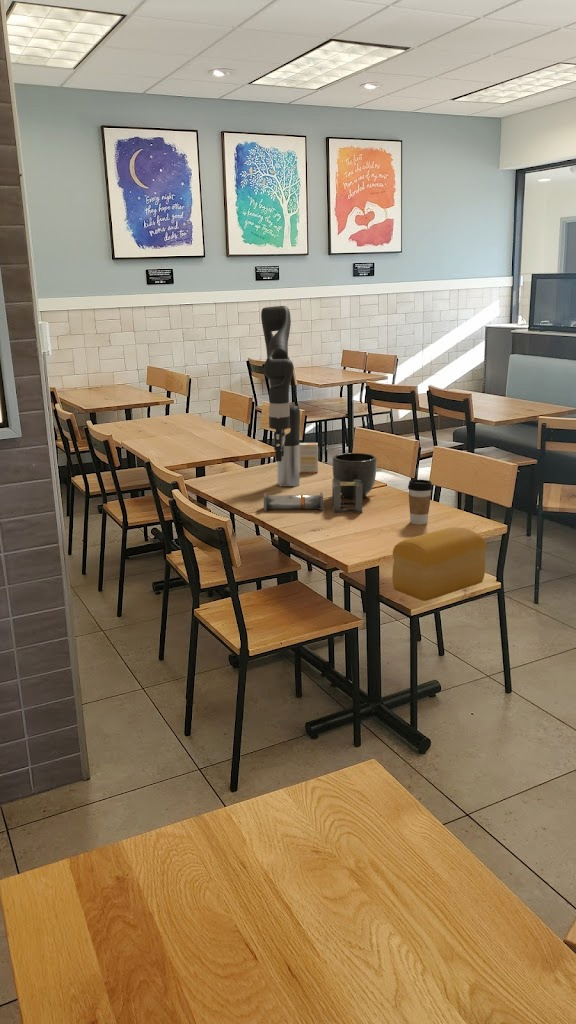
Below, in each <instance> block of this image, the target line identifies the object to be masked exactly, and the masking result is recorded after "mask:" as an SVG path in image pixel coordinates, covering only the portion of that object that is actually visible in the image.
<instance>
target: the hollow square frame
mask: <svg viewBox="0 0 576 1024" xmlns="http://www.w3.org/2000/svg"><path fill="white" fill-rule="evenodd" d="M331 483H332V484H331V486H332V489H331V494H332V495H331V499H332V500H331V503H332V505H331V506H332V507H333V514H363V498H362V497H363V486H362V483H361V480H360V479H354V482H339V479H333V478H332V482H331ZM341 486H353V499H352V501H351V502H349V501H348V502H346V501H344V502H341V498H342V497H341V495H342V494H341ZM341 507H355V508H345V509H344V508H341Z"/></svg>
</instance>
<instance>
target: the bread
mask: <svg viewBox="0 0 576 1024" xmlns="http://www.w3.org/2000/svg"><path fill="white" fill-rule="evenodd" d="M487 548H488V544H487V541H486V539H485V538H484V537H483V536H482V535H480V534H479V533H477V532H475V531H474V530H471V529H470V528H465V527H458V526H457V527H455V526H453V527H447V528H444V529H440V530H436V531H432V532H428V533H424V534H420V535H417V536H413V537H409V538H406V539H403V540H402V541H399V542H398V543H397V544H395V545H394V548H393V550H392V557H393V564H392V577H391V578H392V586H393V590H395V591H397V592H400V593H402V594H404V595H407V596H409V597H412V598H414V599H417V600H420V601H425V602H426V601H430V600H434V599H436V598H441V597H443V596H445V595H449V594H451V593H454V592H458V591H461V590H464V589H467V588H469V587H473V586H476V585H479V584H481V583H483V581H484V578H485V573H486V556H485V554H486V552H487Z"/></svg>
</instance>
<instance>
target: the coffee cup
mask: <svg viewBox="0 0 576 1024" xmlns="http://www.w3.org/2000/svg"><path fill="white" fill-rule="evenodd" d="M407 489H408V503H409V504H408V506H409V521H410V523H411V524H412V525H417V526H418V525H419V526H421V525H422V526H423V525H426V524H428V521H429V520H428V519H429V512H430V506H431V505H430V504H431V499H432V497H431V496H432V494H431V493H432V490H433V483H432V481H431V480H427V479H411V480H409V481H408V485H407Z"/></svg>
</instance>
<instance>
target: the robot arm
mask: <svg viewBox="0 0 576 1024" xmlns="http://www.w3.org/2000/svg"><path fill="white" fill-rule="evenodd" d="M291 319H292V317H291V312H290V309H289V307H288V306H287V305H278V306H277V305H276V306H266V307H263V308H262V309H261V312H260V320H261V325H262V331H263V337H264V342H265V349H266V360H265V361H264V366H263V375H264V376H265V377H266V378H267V379H269V383H270V387H269V391H268V392H269V393H268V394H269V395H268V396H269V397H268V398H269V399H268V400H269V401H268V402H269V404H268V405H269V406H268V428H269V429H271V430H275V431H274V433H273V447H274V448H273V450H274V451H275V461H276V462H277V469H276V470H277V486H279V485H281V486H280V487H283V486H293V487H297V485H298V486H300V463H299V444H300V433H301V429H300V428H301V427H300V426H301V410H300V408H299V407H298V405H290V400H289V399H290V395H289V394H290V386H291V382H292V378H293V373H294V363H293V362H292V361H293V360H291V358H290V357H289V347H288V345H289V337H290V334H291V332H290V331H291V322H292V321H291ZM273 332H276V333H275V334H273ZM286 429H290V431H289V432H288V433H286V432H285V430H286Z"/></svg>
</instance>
